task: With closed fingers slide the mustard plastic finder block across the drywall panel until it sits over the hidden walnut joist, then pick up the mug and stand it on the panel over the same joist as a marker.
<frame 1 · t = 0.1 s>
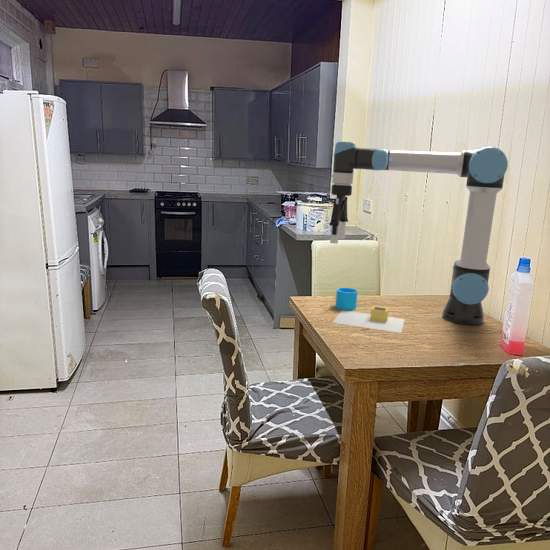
hand: (337, 240, 194), 28 cm above the table, fingers open, 13 cm apart
mug: (347, 309, 204), on the table
drywall panel: (369, 323, 186), on the table
finder block: (379, 318, 189), point 1 cm above the table, touching drywall panel
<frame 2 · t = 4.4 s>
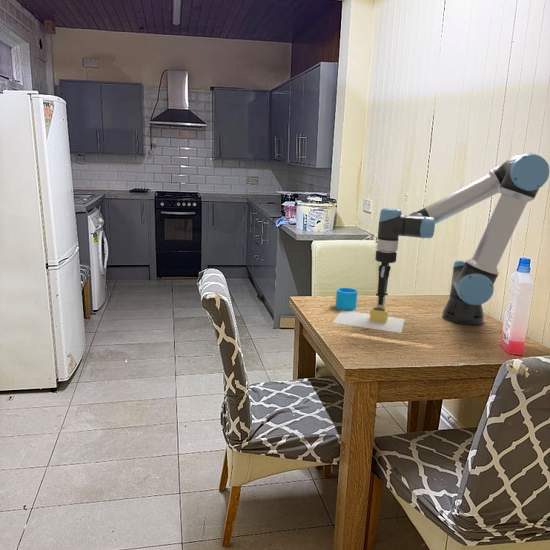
hand: (379, 312, 191), 3 cm above the table, fingers closed
finder block: (378, 319, 188), point 1 cm above the table
everything else where it was.
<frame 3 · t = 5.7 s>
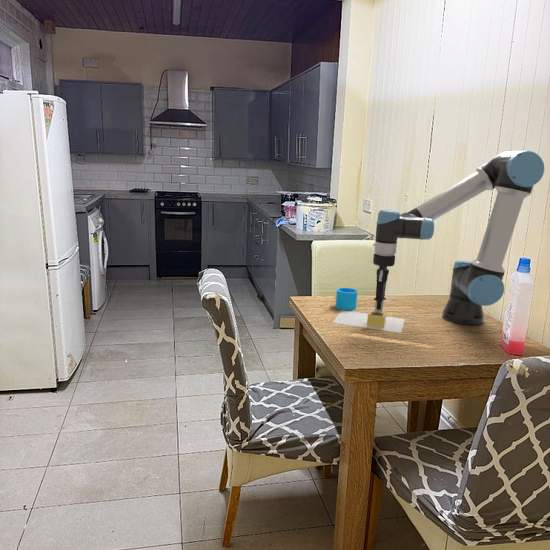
hand: (378, 317, 185), 3 cm above the table, fingers closed
finder block: (376, 324, 182), point 1 cm above the table, touching gripper, drywall panel
everything else where it was.
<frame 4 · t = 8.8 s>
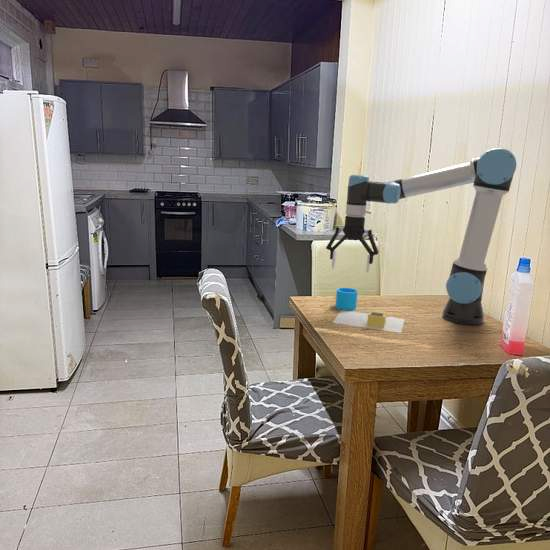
hand: (350, 269, 200), 16 cm above the table, fingers open, 13 cm apart
finder block: (376, 324, 182), point 1 cm above the table, touching drywall panel
everything else where it was.
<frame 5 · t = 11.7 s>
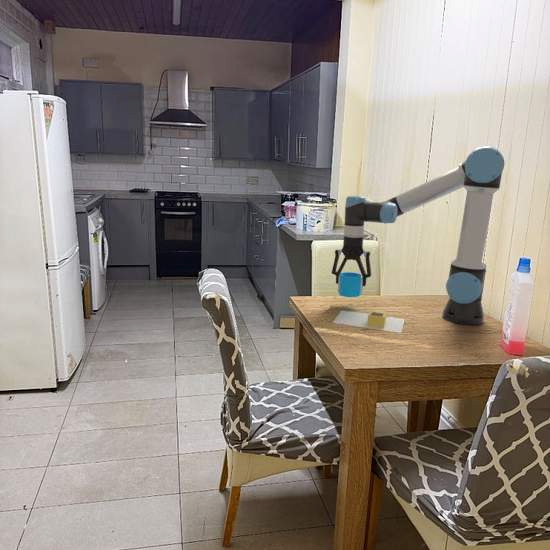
hand: (350, 292, 202), 7 cm above the table, fingers closed on mug, 8 cm apart
mug: (351, 294, 202), point 6 cm above the table, touching gripper
everything else where it was.
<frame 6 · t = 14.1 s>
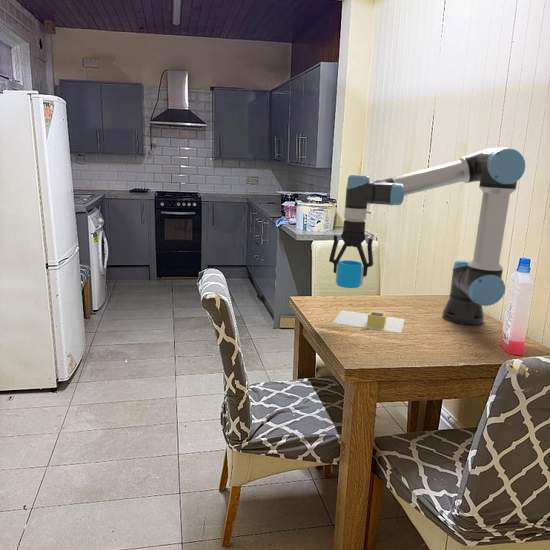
hand: (349, 283, 182), 15 cm above the table, fingers closed on mug, 8 cm apart
mug: (349, 284, 182), point 15 cm above the table, touching gripper
everything else where it was.
when the fingers open (2 cm above the table, at t = 16.7 s): mug stays where it is, resting on drywall panel.
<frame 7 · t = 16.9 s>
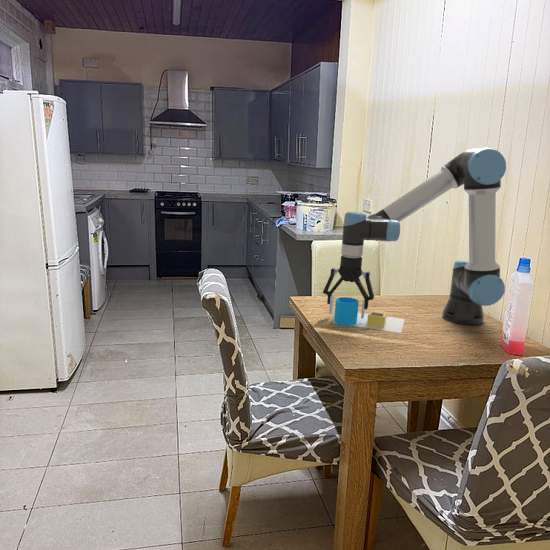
hand: (346, 315, 184), 3 cm above the table, fingers open, 11 cm apart
mug: (347, 321, 185), point 1 cm above the table, touching drywall panel
everything else where it was.
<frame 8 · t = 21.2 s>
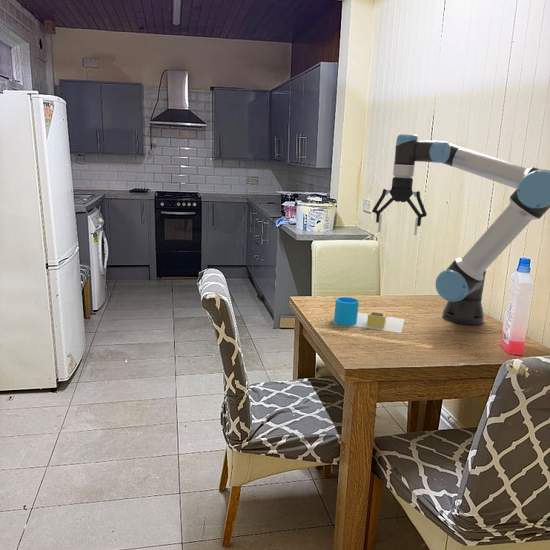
hand: (397, 233, 195), 32 cm above the table, fingers open, 13 cm apart
nothing on the table moved.
at the end: finder block inside the target area (0.9 cm from its centre), point 1.2 cm above the table; mug inside the target area (0.4 cm from its centre), point 1.0 cm above the table; mug tilted 0° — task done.
